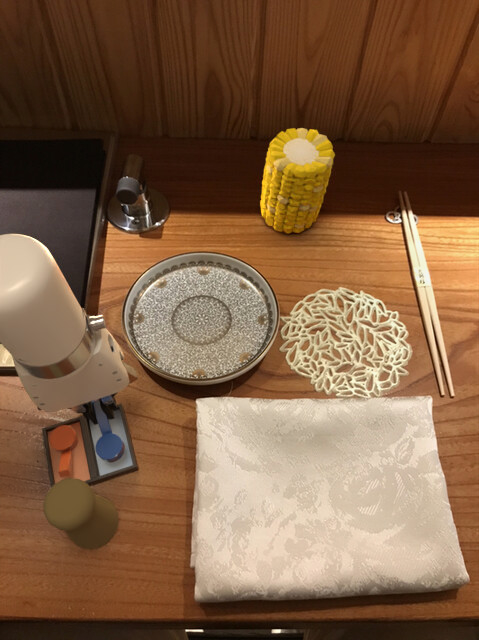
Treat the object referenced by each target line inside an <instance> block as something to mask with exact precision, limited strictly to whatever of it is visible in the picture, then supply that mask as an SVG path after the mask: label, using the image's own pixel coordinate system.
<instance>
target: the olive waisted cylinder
mask: <svg viewBox="0 0 479 640" xmlns="http://www.w3.org/2000/svg"><path fill="white" fill-rule="evenodd" d="M42 505H43V507H42V509H43V514H44V517H45V519H46V522H48V523H49V524H50V525H51V526H52V527H54V528H55V529H58V530H59V531H64V532H65V533H66V535H67V536H68V537H69V539H70V540H71V542H73V544H75V546H77V547H79V548H81V549H84V550H95V549H100V548H101V547H103V546H105V545H107V544H108V543H109V542H110V541H111V540H112V539H113V538H114V536H115V534H116V532H117V531H118V527H119V521H120V520H119V512H118V509H117V507H116V505H115V503H113V502H112V501H111V500H110V499H109V498H106V497H104V496H102V495H99V494H96V493H95V492H94V491H93V488H92V487H91V486H89V485H88V484H87V483H86V482H84V481H82V480H80V479H75V478H68V479H63V480H61V481H59V482H57V483H55V484H54V485H53V486H52V487H51V486H50V487H49V489H48V491H47V493H46V495H45V496H44V500H43V503H42Z"/></svg>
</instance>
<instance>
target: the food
mask: <svg viewBox="0 0 479 640" xmlns="http://www.w3.org/2000/svg"><path fill="white" fill-rule="evenodd" d="M333 148H334V147H333V144H332V142H331V141H330V140H329V139H328V137H327V135H325V134H320V133H319V131H318V129H311V128H310V129H309V130H308V129H307V128H303V127H300V128H297V129H296V128H295V127H293V128H287V129H286V131H283V130H281V131H280V132H279V133H278V134H276V136H275V137H274V138H273V139H272V140H271V141H270V142H269V146H268V148H267V150H268V151H266V157H265V163H264V164H265V165H264V168H263V175H262V178H263V179H262V181H261V195H260V199H261V200H260V201H259V206H260V213H261V217H262V218H263V220H265V223H266V225H267V226H268V227H272V228H273V229H274V231H275V232H279V233H282V232H284V233H285V234H287V235H288V234H291V233H295V234H300V233H301V232H303V231H305V229H309V228H311V227H312V225H313V223H316V221H317V219H318V217H319V213H320V210H321V207H322V204H323V203H324V196H325V194H326V193H327V187H329V181H330V179H329V178H330V177H331V173H332V171H331V170H332V169H333V165H334V158H335V156H336V154H335V152H334V150H333Z"/></svg>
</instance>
